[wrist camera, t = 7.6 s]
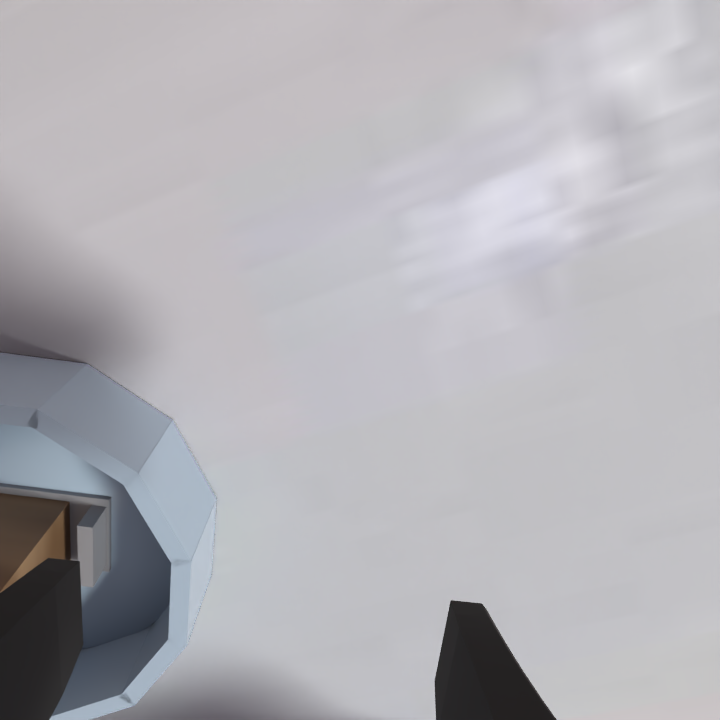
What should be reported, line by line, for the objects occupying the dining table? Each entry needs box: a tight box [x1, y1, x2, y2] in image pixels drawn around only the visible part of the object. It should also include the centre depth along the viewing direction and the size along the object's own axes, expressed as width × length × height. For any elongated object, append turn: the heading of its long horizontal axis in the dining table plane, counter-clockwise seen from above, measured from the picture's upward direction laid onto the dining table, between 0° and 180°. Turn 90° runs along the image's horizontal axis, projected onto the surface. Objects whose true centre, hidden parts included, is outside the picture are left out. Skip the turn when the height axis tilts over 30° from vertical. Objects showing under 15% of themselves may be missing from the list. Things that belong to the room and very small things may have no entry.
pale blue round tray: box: [0, 353, 217, 720], centre depth 22 cm, size 12×12×4 cm
